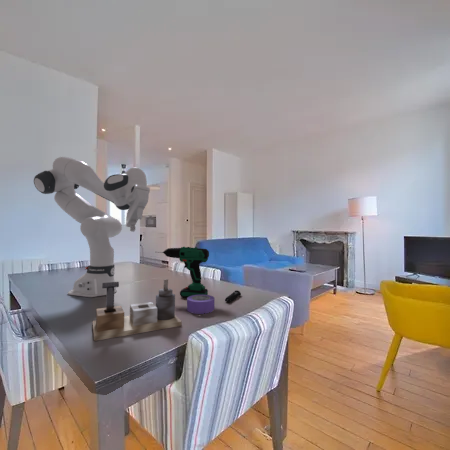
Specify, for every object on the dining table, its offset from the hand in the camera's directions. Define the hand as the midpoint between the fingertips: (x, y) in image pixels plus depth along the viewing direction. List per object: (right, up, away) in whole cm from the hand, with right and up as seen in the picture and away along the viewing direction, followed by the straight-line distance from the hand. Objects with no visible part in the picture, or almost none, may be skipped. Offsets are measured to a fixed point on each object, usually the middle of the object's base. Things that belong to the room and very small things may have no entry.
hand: (136, 224), depth 107 cm
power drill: (+14, -36, +24) cm, 45 cm away
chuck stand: (+5, -36, -14) cm, 39 cm away
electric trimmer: (+40, -37, +22) cm, 59 cm away
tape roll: (+26, -37, +5) cm, 45 cm away
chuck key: (-3, -32, -18) cm, 37 cm away
